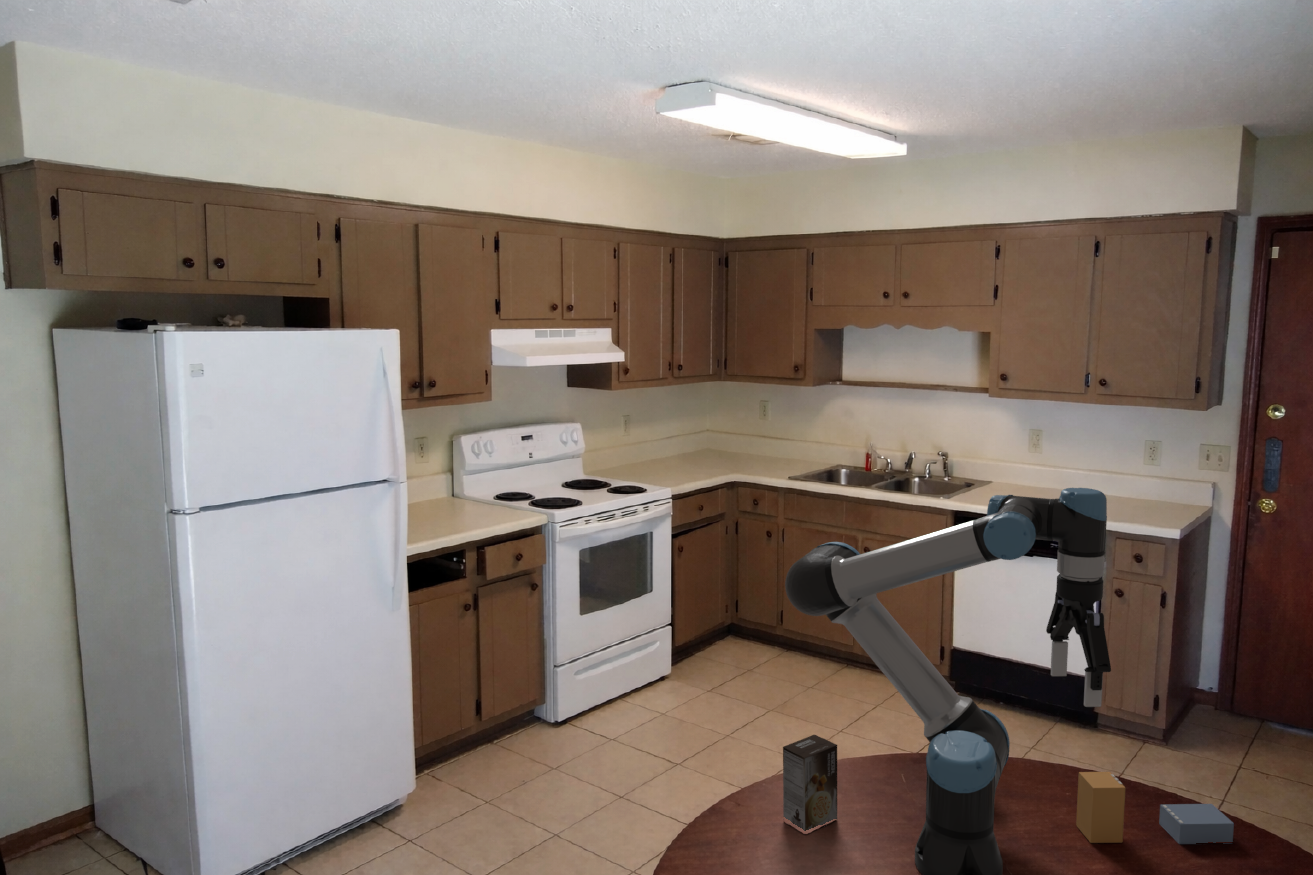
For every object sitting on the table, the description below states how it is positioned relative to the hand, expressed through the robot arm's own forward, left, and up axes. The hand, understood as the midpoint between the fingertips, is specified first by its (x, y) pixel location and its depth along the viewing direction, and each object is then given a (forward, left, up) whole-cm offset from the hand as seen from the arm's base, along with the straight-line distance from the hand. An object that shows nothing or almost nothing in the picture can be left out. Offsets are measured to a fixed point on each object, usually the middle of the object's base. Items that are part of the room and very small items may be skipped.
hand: (1074, 690), depth 167 cm
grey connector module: (+14, +24, -32) cm, 42 cm away
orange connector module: (+1, +11, -32) cm, 33 cm away
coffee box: (-40, -25, -32) cm, 57 cm away
